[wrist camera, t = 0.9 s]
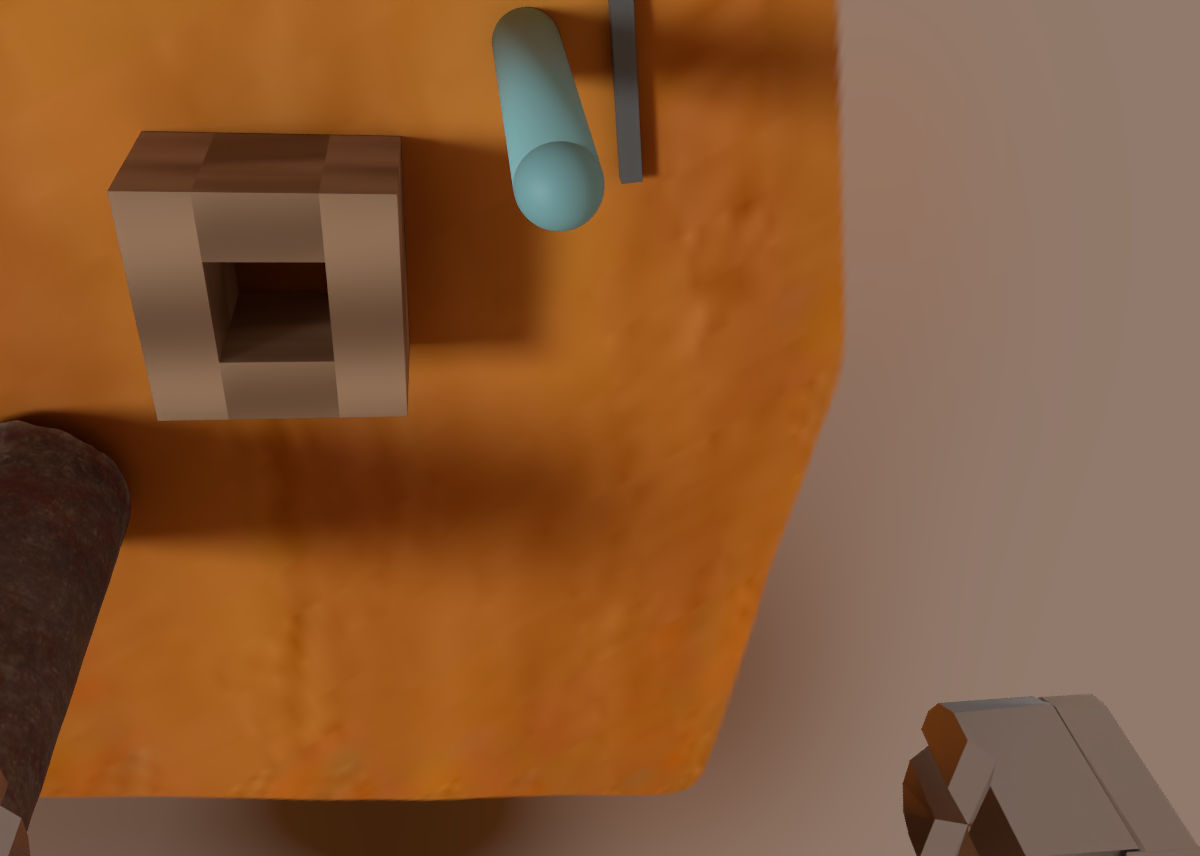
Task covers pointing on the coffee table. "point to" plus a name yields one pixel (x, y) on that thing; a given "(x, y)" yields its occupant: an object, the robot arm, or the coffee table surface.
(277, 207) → the block with square hole
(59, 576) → the textured grey cylinder
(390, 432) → the coffee table surface
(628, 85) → the dark grey bar
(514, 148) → the teal capsule
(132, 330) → the coffee table surface
